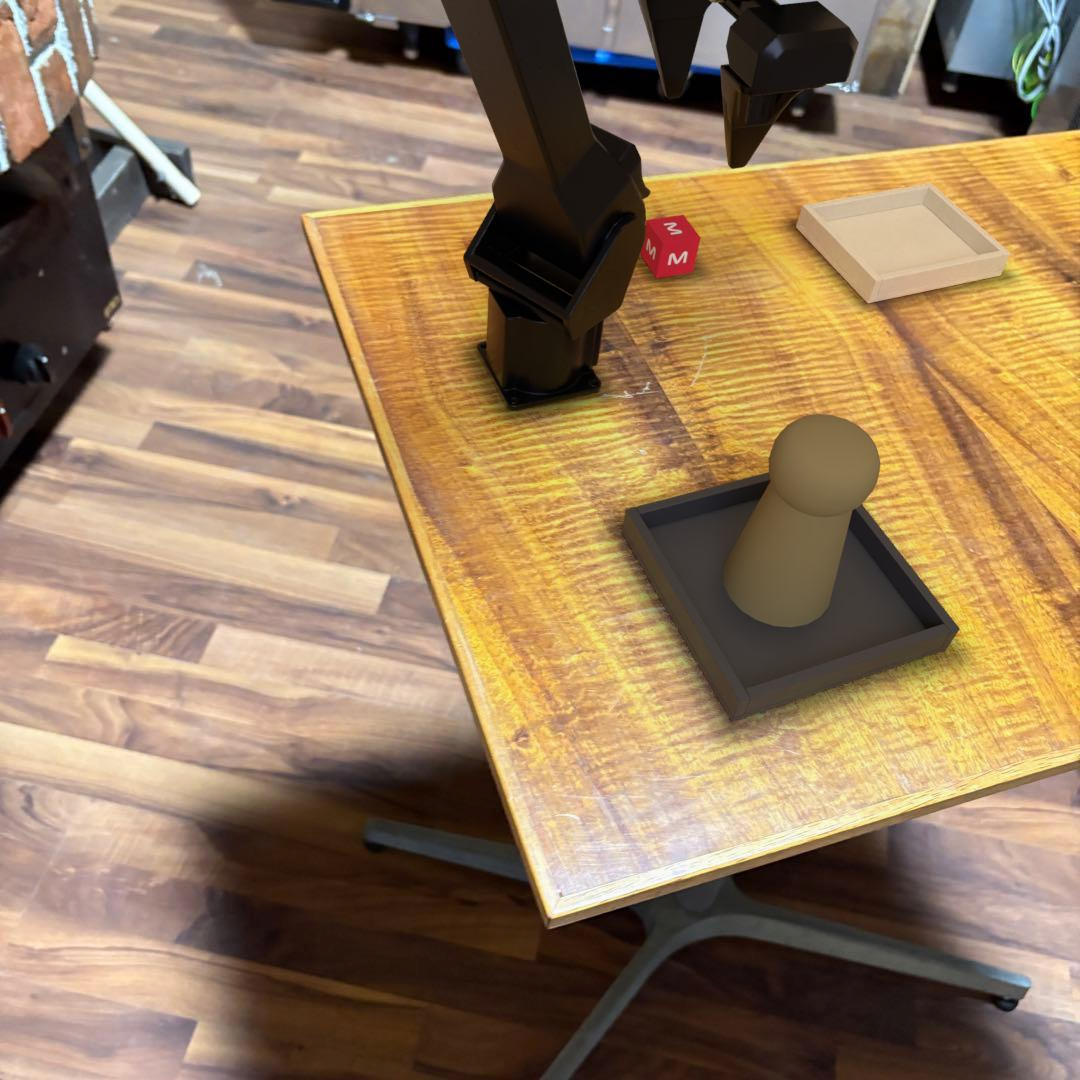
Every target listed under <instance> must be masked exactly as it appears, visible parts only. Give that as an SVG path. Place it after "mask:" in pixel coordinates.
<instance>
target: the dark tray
mask: <svg viewBox="0 0 1080 1080" xmlns="http://www.w3.org/2000/svg"><path fill="white" fill-rule="evenodd" d="M770 481H771V480H770V474H769V471H768V472H765V473H759V474H757V475H752V476H750V477H745V478H741V479H737V480H733V481H729V482H726V483H722V484H717V485H714V486H710V487H706V488H703V489H700V490H695V491H690V492H687V493H683V494H679V495H676V496H675V495H674V496H671V497H669V498H664V499H660V500H656V501H651V502H649V503H645V504H641V505H636V506H631V507H629V508H625V512H624V516H623V521H622V527H621V534H622V535H623V537H624V539H625V541H626V542H627V544H628V546H629V548H630V549H631V551H632V553H633V555H634V557H635V558H636V560H637V562H638V563H639V565H640V567H641V569H642V571H643V572H644V574H645V576H646V577H647V579H648V580H649V582H650V585H651V586H652V588H653V589H654V591H655V592H656V594H657V596H658V598H659V600H660V601H661V603H662V605H663V607H664V608H665V610H666V611H667V613H668V615H669V617H670V619H671V621H672V622H673V624H674V625H675V627H676V629H677V630H678V632H679V634H680V636H681V638H682V639H683V641H684V643H685V644H686V647H687V648H688V649H689V651H690V653H691V655H692V656H693V658H694V660H695V661H696V663H697V665H698V667H699V669H700V670H701V673H702V674H703V675H704V677H705V679H706V681H707V683H708V684H709V686H710V688H711V689H712V691H713V693H714V695H715V696H716V698H717V700H718V701H719V703H720V705H721V707H722V708H723V710H724V712H725V714H726V715H727V717H728V719H729V720H730V722H731V723H734V722H736V721H737V722H738V721H739V720H743V719H745V718H749V717H751V716H754V715H757V714H760V713H763V712H766V711H769V710H772V709H775V708H778V707H781V706H784V705H787V704H790V703H792V702H796V701H800V700H802V699H805V698H808V697H811V696H814V695H816V694H820V693H823V692H826V691H828V690H832V689H835V688H837V687H841V686H844V685H847V684H849V683H853V682H855V681H859V680H862V679H864V678H868V677H870V676H873V675H876V674H879V673H882V672H885V671H888V670H891V669H894V668H898V667H900V666H903V665H905V664H909V663H912V662H915V661H918V660H921V659H924V658H926V657H927V658H928V657H929V656H932V655H935V654H938V653H941V652H944V651H947V649H948V648H949V646H950V645H951V643H952V642H953V640H954V639H955V637H956V636H957V635H958V633H959V632H960V629H961V628H960V627H959V626H958V624H957V623H956V622H955V621H954V618H952V616H950V614H949V613H948V612H947V610H946V609H945V608H944V606H943V605H942V604H941V603H940V601H939V600H938V599H937V598H936V596H935V595H934V594H933V593H932V591H931V590H930V589H929V588H928V586H927V585H926V583H925V582H924V581H923V579H921V577H920V576H919V575H918V574H917V572H916V571H915V569H914V568H913V567H912V566H911V564H910V563H909V562H908V561H907V559H906V558H905V556H903V554H902V553H901V552H900V551H899V549H898V548H897V547H896V545H895V544H894V543H893V542H892V540H891V539H890V538H889V536H888V535H887V534H886V533H885V532H884V530H883V529H882V528H881V526H880V525H879V524H878V522H877V521H876V520H875V519H874V518H873V516H872V515H871V513H870V512H869V511H868V510H867V509H866V507H865V506H864V504H863V503H862V504H861V505H860V506H859V507H858V508H856V509H854V510H852V514H851V518H850V522H849V526H848V530H847V534H846V538H845V542H844V546H843V551H842V555H841V559H840V563H839V567H838V571H837V575H836V579H835V583H834V587H833V591H832V595H831V599H830V603H829V607H828V608H827V609H826V611H825V612H824V613H823V614H822V616H821V617H820V618H818V619H816V620H814V621H812V622H811V623H809V624H806V625H801V626H796V627H780V626H772V625H769V624H766V623H763V622H760V621H757V620H755V619H754V618H752V617H751V616H749V615H748V614H746V613H744V612H743V611H741V610H740V609H739V607H738V606H737V605H736V604H735V603H734V602H733V601H732V600H731V599H730V597H729V595H728V593H727V591H726V589H725V587H724V583H723V569H724V566H725V563H726V560H727V558H728V556H729V554H730V553H731V551H732V549H733V547H734V545H735V544H736V542H737V540H738V538H739V537H740V535H741V533H742V531H743V529H744V528H745V526H746V524H747V522H748V521H749V519H750V517H751V515H752V513H753V512H754V510H755V508H756V506H757V505H758V503H759V501H760V499H761V497H762V496H763V494H764V492H765V490H766V489H767V487H768V485H769V483H770Z"/></svg>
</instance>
